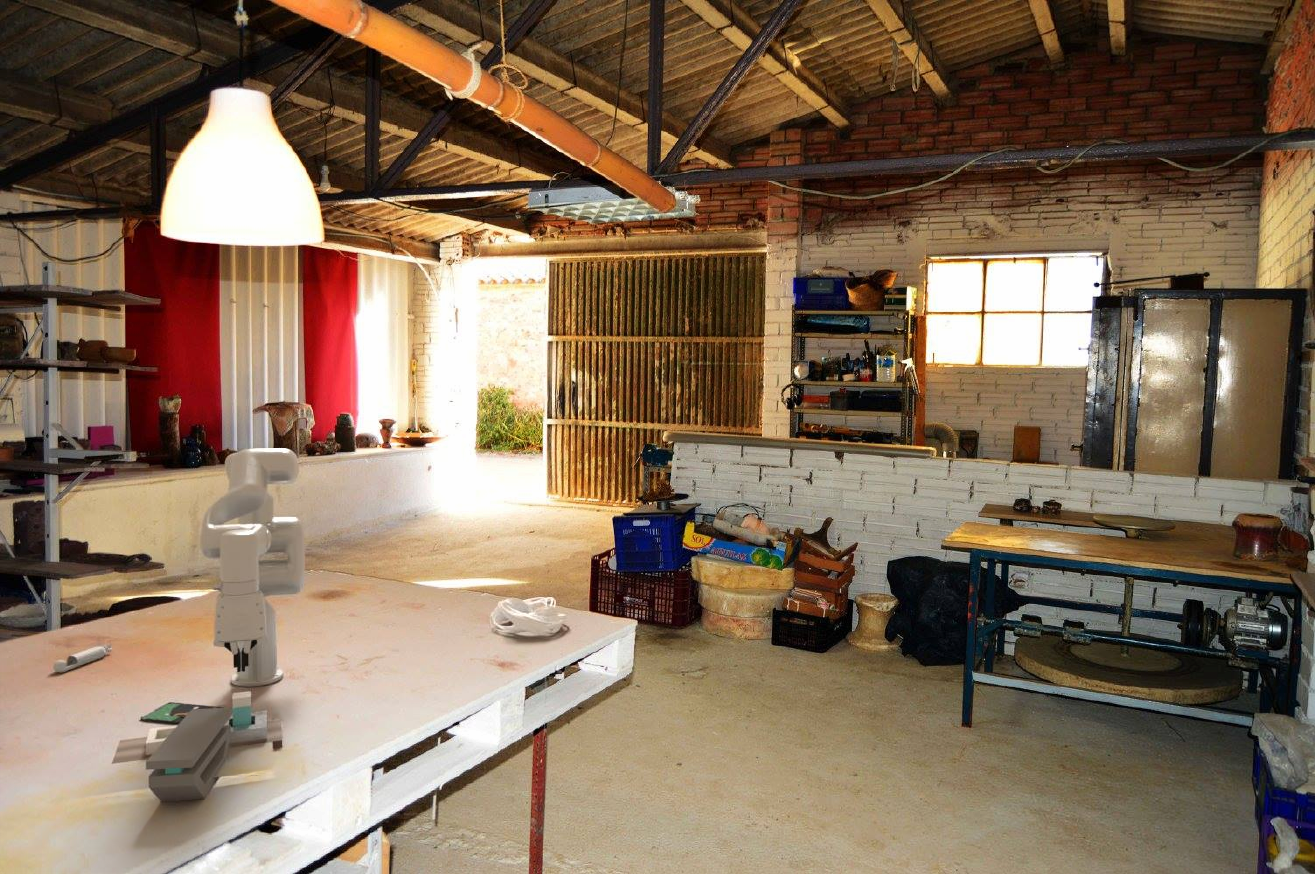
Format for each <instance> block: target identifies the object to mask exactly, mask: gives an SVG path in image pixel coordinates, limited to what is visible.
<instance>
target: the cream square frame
mask: <svg viewBox="0 0 1315 874" xmlns="http://www.w3.org/2000/svg"><path fill="white" fill-rule="evenodd" d="M177 726H178V725H168V726H162V727H161V726H160V727H153V728H152V727H151V728H149V730H148V734H147V736H146V737H147V741H146V755H150V754H153V753H154V752H155V751H156V749H157V748H158V747H159V746H160V745H161V744H162V743H163V742H164V740H165V739H166V738H167V737H168V736H169V735H170V734H171V732H172V731H173V730H174V729H175V728H176V727H177Z"/></svg>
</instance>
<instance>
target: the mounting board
mask: <svg viewBox="0 0 1315 874" xmlns="http://www.w3.org/2000/svg"><path fill="white" fill-rule="evenodd" d="M147 737H148V736H145V737H144V736H143V737H137V738H128V739H121V740H119V742H118V745H117V747H116V750H115V753H114V756H113V759H112V762H111V764H118V763H119V764H121V763H125V762H132V761H141V760H148V759H149V757H150V756H151V755H152V754H150V755H146V741H147ZM265 743H272V744H271V745H272V749H274V748H275V749H276V748H283V731H282V719H278V720H269V721H268V720H267V740H266V741H259V742H251V743H244V744H237V745H229V747H228V749H229V748H235V747H243V746H251V745H258V744H265Z"/></svg>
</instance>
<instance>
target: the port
mask: <svg viewBox="0 0 1315 874" xmlns="http://www.w3.org/2000/svg"><path fill="white" fill-rule="evenodd" d="M267 716H268V711H267V710H257V711H251V725H246V726H238V727H233V714H232V716H231V717H230V718H229V720H228V721H227V722H226V724H225V725H231V737H230V742H229V745H237V744H244V743H251V742H259V741H266V740H267V722H268V717H267Z"/></svg>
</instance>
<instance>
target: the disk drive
mask: <svg viewBox="0 0 1315 874" xmlns="http://www.w3.org/2000/svg"><path fill="white" fill-rule="evenodd" d="M211 708H226V707H223V706H213V705H203V704H192V703H184V702H183V703H182V702H171V701H169V702H168V703H167V702H166V703H165V704H163V705H161V706H159V707H157V708H156V709H154V711H152V712H150V713H147V714H146V715H144V716H140V719H139V720H138V721H139V722H147V723H157V724H168V725H173V726H175V725H179V723H180V722H181V721H182V720H183V719H184V718H185V717H186V715H187V714H188V713H189V712H190V711H191V710H192V709H211Z"/></svg>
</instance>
